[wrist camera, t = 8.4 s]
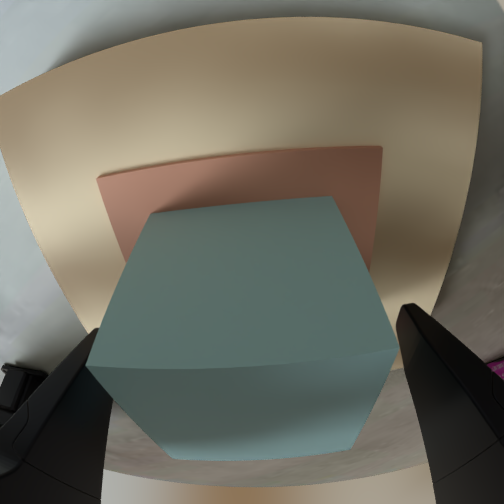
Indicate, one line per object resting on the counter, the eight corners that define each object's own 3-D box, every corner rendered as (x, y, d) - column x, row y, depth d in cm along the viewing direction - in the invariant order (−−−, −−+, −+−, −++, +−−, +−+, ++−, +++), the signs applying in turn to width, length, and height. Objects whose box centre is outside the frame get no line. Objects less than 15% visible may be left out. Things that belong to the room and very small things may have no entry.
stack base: (392, 327, 18) (408, 369, 15) (137, 348, 19) (126, 390, 16) (435, 38, 8) (485, 43, 6) (34, 85, 9) (-16, 104, 7)
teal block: (324, 320, 12) (350, 449, 8) (189, 331, 13) (172, 458, 8) (332, 195, 9) (399, 348, 5) (150, 213, 9) (85, 365, 5)
